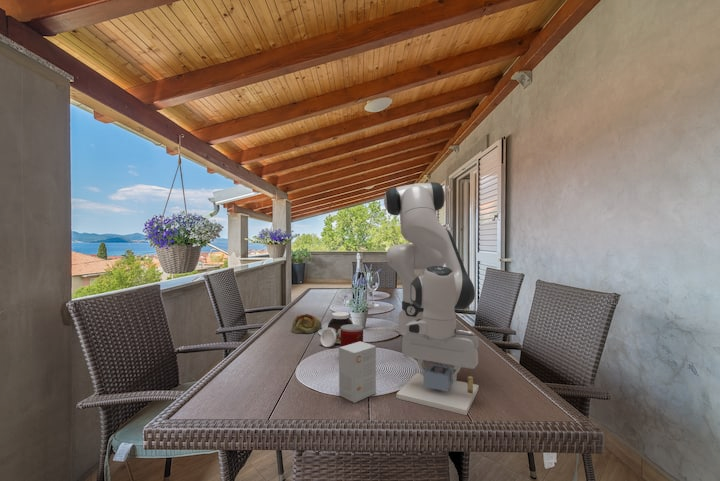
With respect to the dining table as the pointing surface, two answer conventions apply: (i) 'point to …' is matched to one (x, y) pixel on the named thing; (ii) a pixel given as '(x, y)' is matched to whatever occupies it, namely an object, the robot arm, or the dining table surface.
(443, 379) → the grey socket with handle
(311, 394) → the dining table surface
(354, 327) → the canned food
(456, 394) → the post board
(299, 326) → the pastry
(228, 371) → the dining table surface
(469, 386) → the dowel
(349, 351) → the small box
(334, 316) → the spread jar
